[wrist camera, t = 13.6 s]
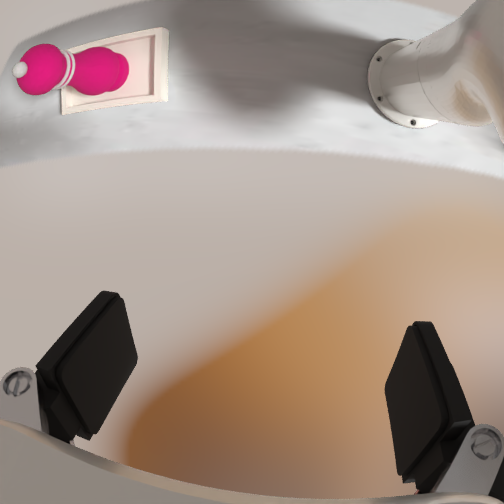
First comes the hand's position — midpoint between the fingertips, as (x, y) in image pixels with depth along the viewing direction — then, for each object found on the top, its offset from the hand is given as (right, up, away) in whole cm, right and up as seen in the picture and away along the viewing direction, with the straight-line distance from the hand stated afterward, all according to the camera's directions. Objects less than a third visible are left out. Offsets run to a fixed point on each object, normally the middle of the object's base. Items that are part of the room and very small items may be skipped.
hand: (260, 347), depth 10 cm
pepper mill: (-21, +30, +29) cm, 46 cm away
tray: (-21, +30, +30) cm, 47 cm away
